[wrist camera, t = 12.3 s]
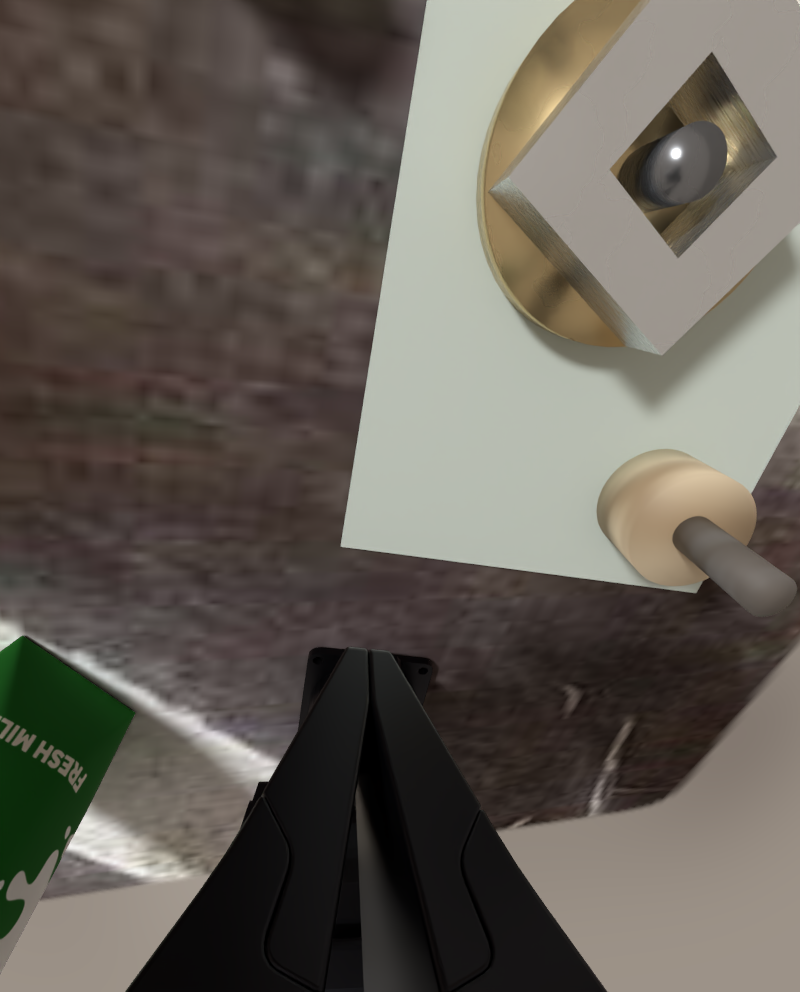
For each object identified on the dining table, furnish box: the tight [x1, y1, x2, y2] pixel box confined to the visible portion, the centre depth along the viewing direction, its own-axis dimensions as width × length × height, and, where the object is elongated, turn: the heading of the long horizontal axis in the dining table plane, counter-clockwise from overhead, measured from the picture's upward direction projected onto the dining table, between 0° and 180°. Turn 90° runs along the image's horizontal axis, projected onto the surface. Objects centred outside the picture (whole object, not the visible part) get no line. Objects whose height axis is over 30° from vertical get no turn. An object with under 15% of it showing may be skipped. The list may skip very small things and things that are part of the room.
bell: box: [476, 0, 756, 347], centre depth 14 cm, size 10×10×4 cm
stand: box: [597, 449, 797, 617], centre depth 18 cm, size 5×5×7 cm
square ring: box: [488, 0, 800, 355], centre depth 13 cm, size 7×7×2 cm
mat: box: [341, 0, 800, 593], centre depth 18 cm, size 21×18×1 cm
